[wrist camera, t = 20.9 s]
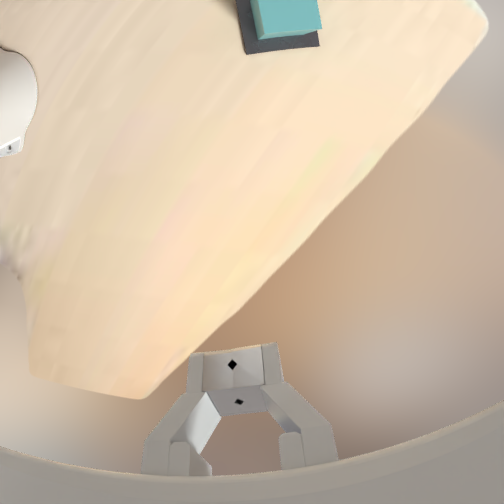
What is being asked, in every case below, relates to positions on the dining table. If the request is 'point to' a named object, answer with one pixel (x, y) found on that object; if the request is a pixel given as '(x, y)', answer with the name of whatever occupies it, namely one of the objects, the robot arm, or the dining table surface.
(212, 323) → the dining table surface
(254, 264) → the dining table surface
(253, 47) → the post
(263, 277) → the dining table surface
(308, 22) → the teal rectangular block
